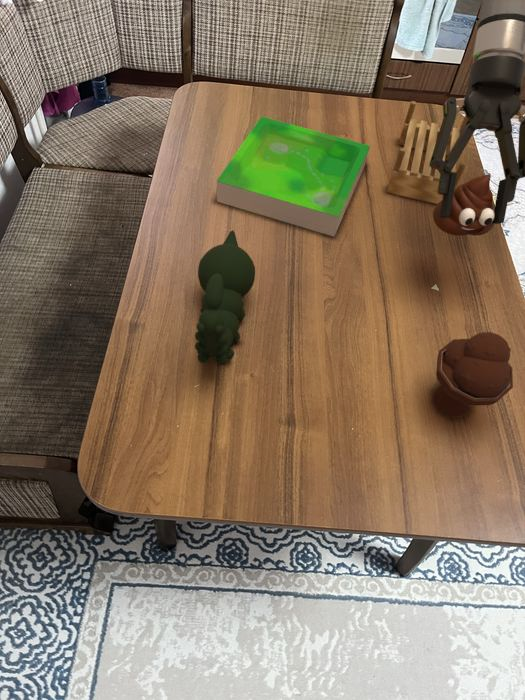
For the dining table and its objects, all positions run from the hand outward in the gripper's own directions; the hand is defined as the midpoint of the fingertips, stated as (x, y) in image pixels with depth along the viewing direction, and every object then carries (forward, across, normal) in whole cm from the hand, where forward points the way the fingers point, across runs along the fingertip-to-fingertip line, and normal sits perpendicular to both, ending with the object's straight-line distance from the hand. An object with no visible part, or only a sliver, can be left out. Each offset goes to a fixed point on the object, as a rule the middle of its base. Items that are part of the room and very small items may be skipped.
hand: (471, 219), depth 83 cm
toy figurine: (+21, +37, -4) cm, 43 cm away
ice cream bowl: (+28, -1, +3) cm, 29 cm away
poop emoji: (0, 0, -5) cm, 5 cm away
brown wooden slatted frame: (-13, -1, -38) cm, 41 cm away
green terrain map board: (-7, +28, -32) cm, 43 cm away
